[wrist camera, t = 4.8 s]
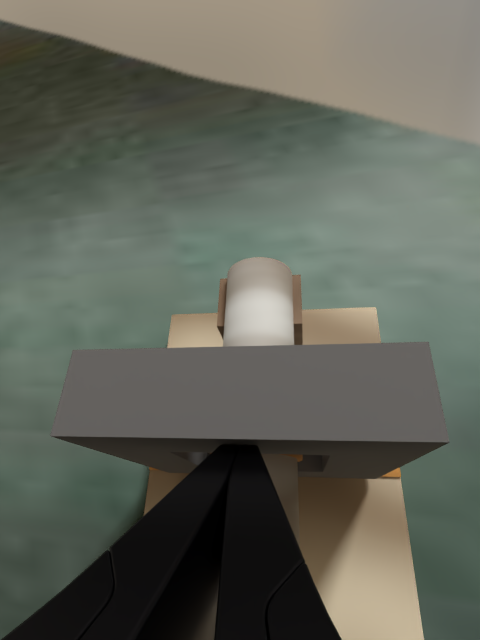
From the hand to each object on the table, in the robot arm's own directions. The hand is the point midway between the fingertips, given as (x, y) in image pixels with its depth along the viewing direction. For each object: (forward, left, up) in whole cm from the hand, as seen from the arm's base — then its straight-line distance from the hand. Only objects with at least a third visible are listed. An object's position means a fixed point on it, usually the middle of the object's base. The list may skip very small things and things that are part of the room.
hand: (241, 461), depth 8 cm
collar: (+1, +1, -7) cm, 7 cm away
